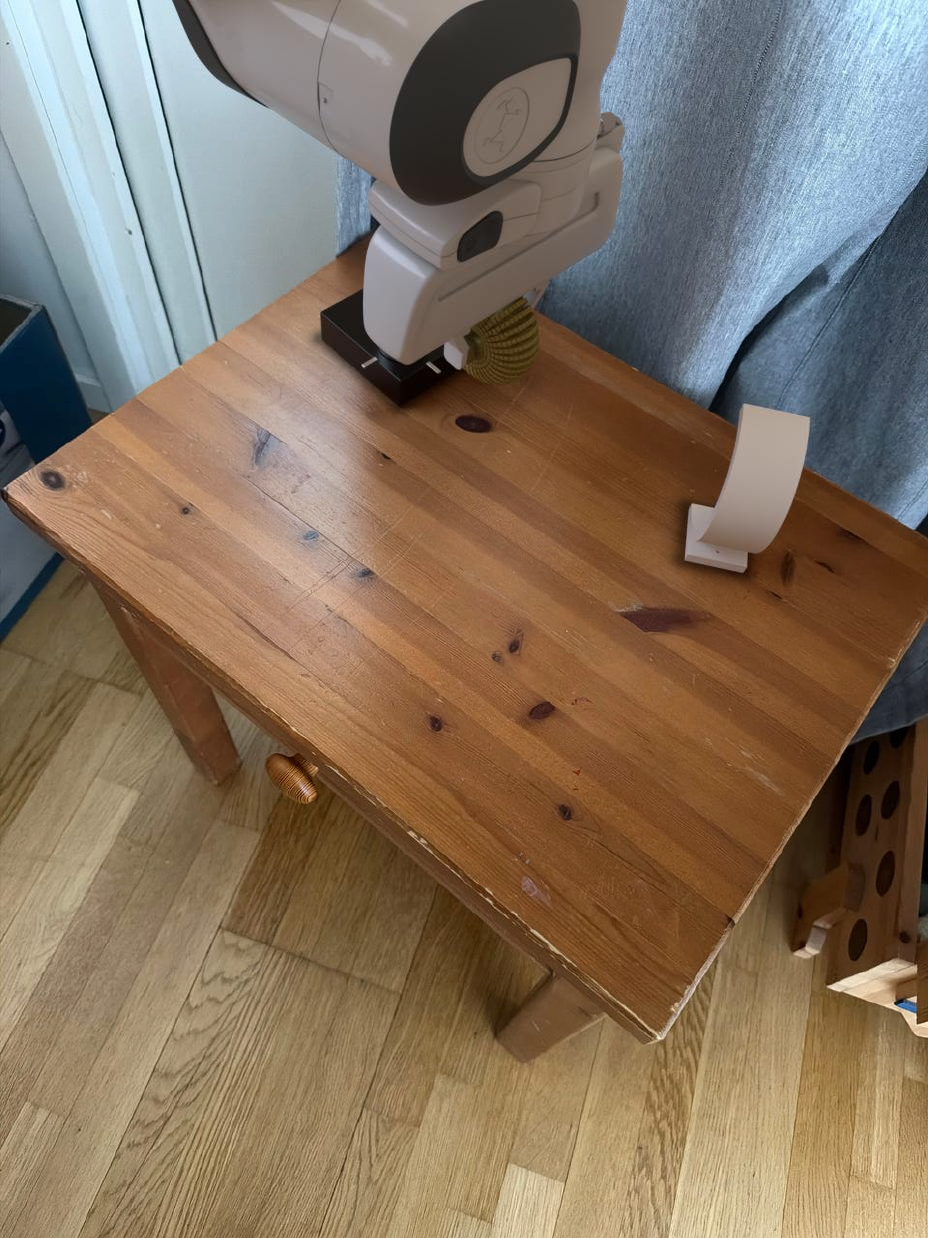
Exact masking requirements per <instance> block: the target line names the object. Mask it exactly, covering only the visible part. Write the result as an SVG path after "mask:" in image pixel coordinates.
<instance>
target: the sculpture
mask: <svg viewBox="0 0 928 1238" xmlns="http://www.w3.org/2000/svg"><path fill="white" fill-rule="evenodd" d="M523 296H524V295H523ZM523 296H522V297H520V298H518V299H517V300H515V301H513V302H512V303H510V304H508V305H507V306H505V307H504V308H502V309H500V310H499V311H497V312H495V313H494V314H492V315H490V316H489V317H487V318H486V319H484V320H482V321H481V322H479V323H477V324H476V325H474V326H472V327H471V329H470V332H469V334H467V337H468V338H472V339H473V340H474V341H475V342H476V343H478V346H477V351H476V353H475V355H476V359H475V360H473V361H472V362H470V363H469V364H467V365H466V366H465V367H463V368H462V369H463V370H464V371H466V373H467V374H469V376H471V377H473V378H474V379H476V380H478V381H480V382H482V383H486V384H488V385H493V386H500V385H501V386H504V385H508V384H512V383H514V382H517V381H518V380H520V379H522V378H523V377H524V376H525V375H526V374H527V373H528V372H529V371H530V370H531V368H532V366H534V363H535V361H536V359H537V356H538V353H539V349H540V347H539V345H540V330H539V324H538V321H537V318H536V315H535V312H534V311H533V310H532V307H531V305H528V306H525V305H526V304H527V303H528V300H527V299H526V298H523ZM524 306H525V307H524ZM522 307H523V308H522ZM521 308H522V309H521ZM531 311H532V312H531ZM485 324H486V325H485ZM491 335H492V336H491ZM493 341H494V342H493Z"/></svg>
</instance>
